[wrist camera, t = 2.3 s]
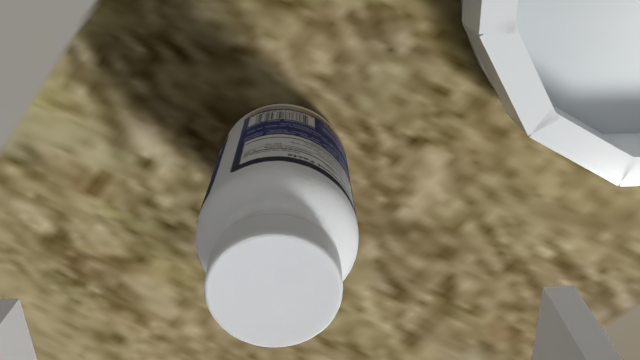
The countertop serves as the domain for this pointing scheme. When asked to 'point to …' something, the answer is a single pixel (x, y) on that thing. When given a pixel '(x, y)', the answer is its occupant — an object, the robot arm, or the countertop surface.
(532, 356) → the robot arm
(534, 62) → the dish
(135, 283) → the countertop surface
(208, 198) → the pill bottle
